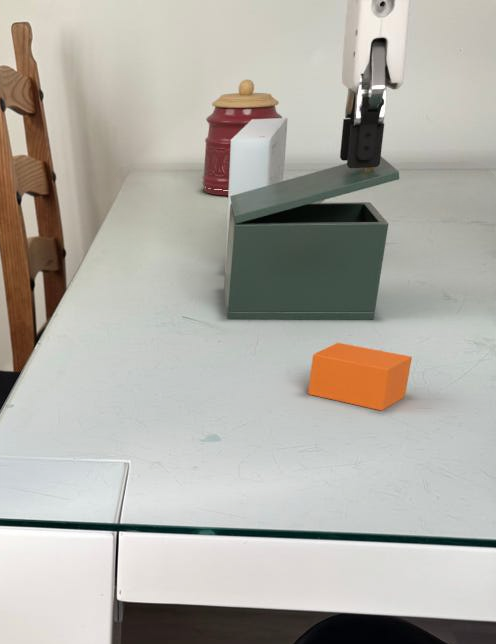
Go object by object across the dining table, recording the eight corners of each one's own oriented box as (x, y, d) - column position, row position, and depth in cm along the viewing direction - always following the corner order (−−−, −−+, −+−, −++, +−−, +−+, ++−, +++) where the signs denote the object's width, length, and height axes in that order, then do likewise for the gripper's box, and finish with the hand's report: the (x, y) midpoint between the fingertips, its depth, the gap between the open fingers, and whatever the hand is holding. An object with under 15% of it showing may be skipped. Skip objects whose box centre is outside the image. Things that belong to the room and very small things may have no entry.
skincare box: (241, 241, 145) (251, 117, 136) (279, 242, 143) (292, 117, 134) (219, 274, 128) (230, 136, 119) (263, 276, 126) (276, 136, 118)
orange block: (405, 397, 88) (412, 356, 86) (381, 411, 85) (388, 369, 83) (332, 381, 92) (337, 342, 90) (307, 394, 89) (312, 354, 87)
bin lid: (379, 161, 111) (374, 113, 109) (399, 179, 101) (394, 125, 98) (231, 203, 116) (223, 157, 113) (235, 224, 105) (227, 174, 103)
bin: (357, 290, 119) (370, 202, 113) (373, 319, 108) (388, 223, 103) (223, 290, 121) (230, 203, 116) (227, 319, 110) (234, 224, 105)
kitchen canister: (287, 193, 176) (299, 79, 167) (218, 199, 174) (226, 83, 165) (256, 183, 187) (265, 75, 178) (191, 188, 185) (197, 79, 175)
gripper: (439, -51, 89) (410, 173, 98) (405, -44, 103) (383, 151, 112) (351, -43, 90) (331, 177, 99) (329, -38, 104) (314, 154, 114)
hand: (359, 161), depth 106 cm, fingers closed on bin lid, 5 cm apart
